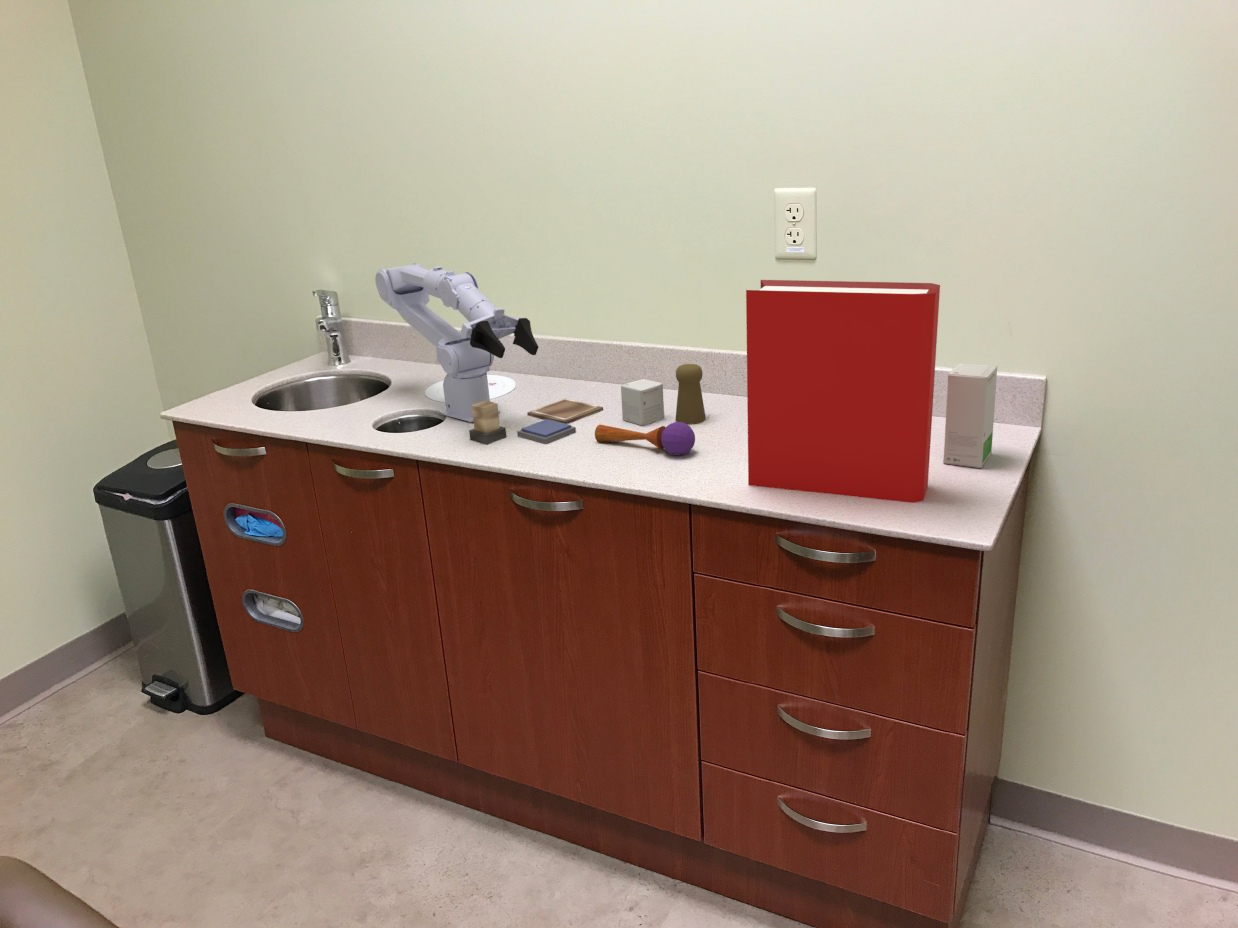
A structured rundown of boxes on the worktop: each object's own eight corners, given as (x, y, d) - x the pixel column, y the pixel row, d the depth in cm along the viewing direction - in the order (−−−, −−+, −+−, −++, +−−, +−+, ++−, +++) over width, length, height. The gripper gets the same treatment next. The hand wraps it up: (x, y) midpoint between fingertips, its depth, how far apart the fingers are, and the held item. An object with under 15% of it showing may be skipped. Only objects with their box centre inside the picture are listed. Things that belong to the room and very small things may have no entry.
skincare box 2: (980, 469, 157) (988, 378, 152) (939, 463, 161) (945, 373, 155) (992, 452, 164) (1000, 364, 158) (952, 447, 167) (958, 360, 162)
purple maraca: (608, 415, 183) (700, 421, 172) (609, 446, 184) (701, 454, 173) (590, 419, 178) (684, 425, 167) (591, 451, 179) (684, 459, 168)
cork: (704, 424, 186) (702, 369, 182) (673, 424, 188) (670, 369, 184) (707, 414, 192) (706, 360, 188) (677, 414, 193) (675, 361, 189)
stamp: (470, 440, 186) (465, 405, 184) (489, 432, 190) (485, 398, 187) (486, 445, 183) (482, 410, 180) (506, 437, 186) (503, 403, 184)
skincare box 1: (642, 426, 188) (640, 390, 185) (621, 420, 192) (619, 385, 189) (665, 418, 191) (663, 383, 189) (644, 412, 196) (642, 377, 193)
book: (748, 485, 157) (746, 290, 146) (761, 467, 164) (760, 279, 152) (922, 503, 146) (934, 294, 135) (928, 484, 153) (941, 283, 142)
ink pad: (517, 436, 186) (516, 428, 186) (547, 424, 192) (546, 417, 191) (546, 444, 181) (545, 436, 181) (576, 432, 187) (575, 424, 186)
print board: (527, 415, 198) (527, 411, 198) (565, 401, 206) (565, 397, 205) (565, 424, 191) (564, 420, 191) (603, 409, 199) (602, 406, 198)
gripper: (454, 296, 180) (492, 336, 173) (517, 294, 189) (556, 331, 182) (446, 329, 183) (482, 368, 176) (507, 325, 193) (545, 362, 186)
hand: (519, 352), depth 179 cm, fingers open, 7 cm apart
